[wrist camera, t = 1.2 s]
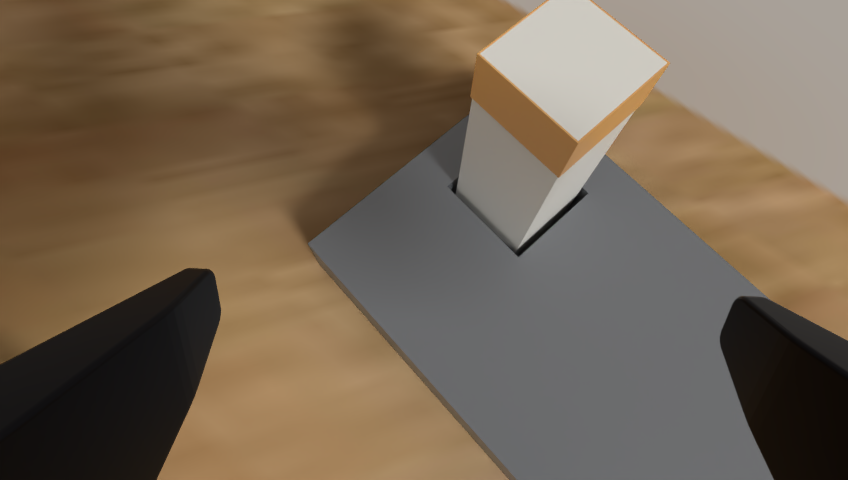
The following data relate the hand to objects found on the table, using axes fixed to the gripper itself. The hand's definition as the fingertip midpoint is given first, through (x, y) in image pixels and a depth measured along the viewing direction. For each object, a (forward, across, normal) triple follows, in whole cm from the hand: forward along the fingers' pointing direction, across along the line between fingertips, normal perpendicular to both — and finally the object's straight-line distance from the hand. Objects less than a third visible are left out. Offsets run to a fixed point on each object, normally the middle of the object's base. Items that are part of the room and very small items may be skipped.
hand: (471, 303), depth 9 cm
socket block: (+11, -6, +10) cm, 16 cm away
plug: (+15, -3, +6) cm, 17 cm away
